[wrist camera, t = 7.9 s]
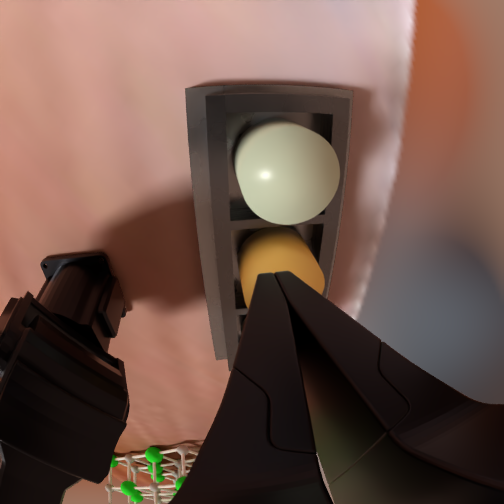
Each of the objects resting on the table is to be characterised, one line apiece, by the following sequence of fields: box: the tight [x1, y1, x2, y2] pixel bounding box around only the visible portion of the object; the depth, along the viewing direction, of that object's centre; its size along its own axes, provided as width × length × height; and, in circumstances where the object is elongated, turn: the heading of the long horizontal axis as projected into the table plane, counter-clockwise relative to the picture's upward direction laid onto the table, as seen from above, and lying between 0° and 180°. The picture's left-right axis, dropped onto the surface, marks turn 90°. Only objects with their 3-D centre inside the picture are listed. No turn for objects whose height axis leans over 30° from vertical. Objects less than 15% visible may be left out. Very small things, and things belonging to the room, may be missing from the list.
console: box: [185, 85, 353, 371], centre depth 21 cm, size 10×23×3 cm, turn 1°
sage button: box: [233, 118, 340, 225], centre depth 15 cm, size 5×5×4 cm
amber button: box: [237, 226, 325, 309], centre depth 19 cm, size 5×5×4 cm
